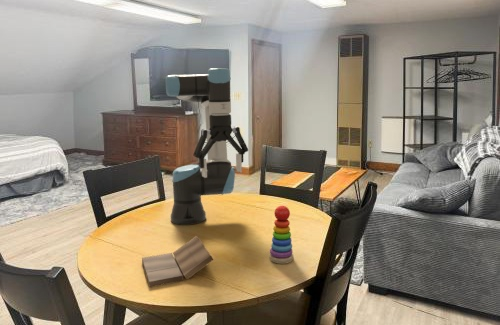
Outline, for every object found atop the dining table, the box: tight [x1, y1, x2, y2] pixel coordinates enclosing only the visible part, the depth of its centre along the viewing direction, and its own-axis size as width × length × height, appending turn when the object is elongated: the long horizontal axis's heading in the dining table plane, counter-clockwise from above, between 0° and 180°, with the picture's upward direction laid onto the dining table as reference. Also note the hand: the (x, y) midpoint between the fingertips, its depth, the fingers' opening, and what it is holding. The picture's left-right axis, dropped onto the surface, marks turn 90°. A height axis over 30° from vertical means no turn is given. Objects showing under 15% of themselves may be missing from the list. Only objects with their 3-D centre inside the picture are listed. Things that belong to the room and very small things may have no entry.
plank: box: [172, 235, 214, 280], centre depth 137 cm, size 18×10×2 cm
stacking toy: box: [269, 205, 294, 265], centre depth 140 cm, size 8×8×19 cm
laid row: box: [141, 252, 184, 288], centre depth 134 cm, size 18×10×2 cm, turn 21°
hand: (222, 174), depth 149 cm, fingers open, 13 cm apart
